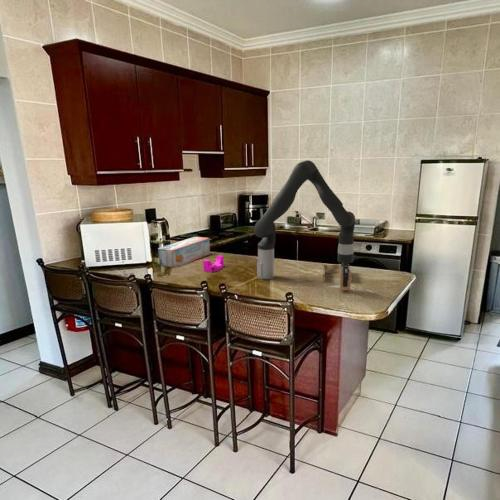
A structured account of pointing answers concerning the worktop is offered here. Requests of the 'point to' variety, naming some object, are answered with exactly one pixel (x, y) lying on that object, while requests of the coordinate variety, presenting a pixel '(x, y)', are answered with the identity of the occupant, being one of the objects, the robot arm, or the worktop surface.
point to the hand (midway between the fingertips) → (344, 284)
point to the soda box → (183, 251)
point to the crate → (331, 269)
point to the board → (339, 287)
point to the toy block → (216, 266)
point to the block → (342, 281)
